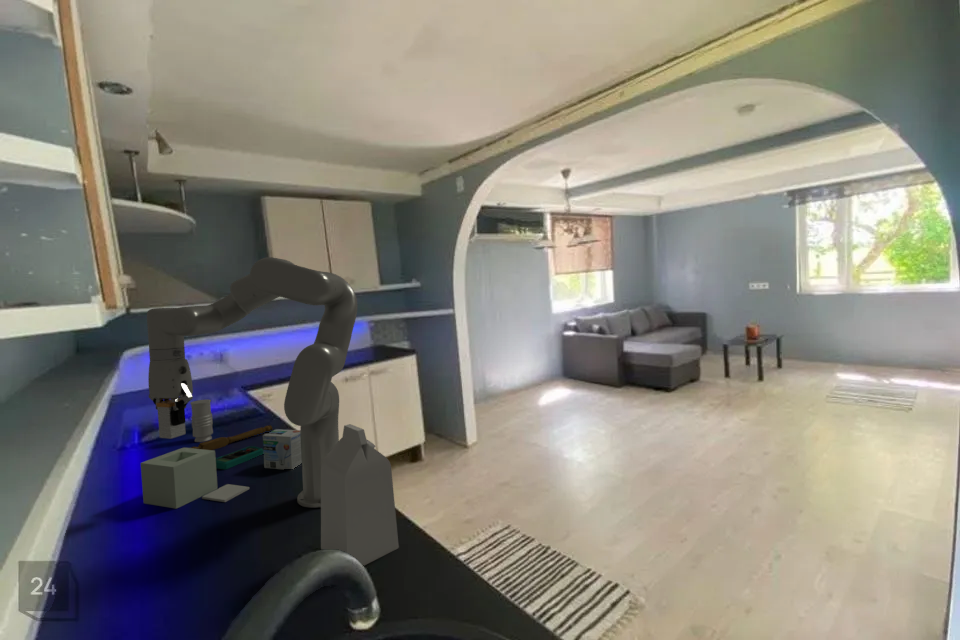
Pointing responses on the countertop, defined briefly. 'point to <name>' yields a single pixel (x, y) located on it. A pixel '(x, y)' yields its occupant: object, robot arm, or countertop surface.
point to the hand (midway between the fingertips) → (172, 423)
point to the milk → (357, 499)
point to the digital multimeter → (238, 457)
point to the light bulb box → (282, 449)
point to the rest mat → (225, 493)
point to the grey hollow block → (178, 477)
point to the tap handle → (230, 439)
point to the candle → (201, 420)
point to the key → (168, 421)
